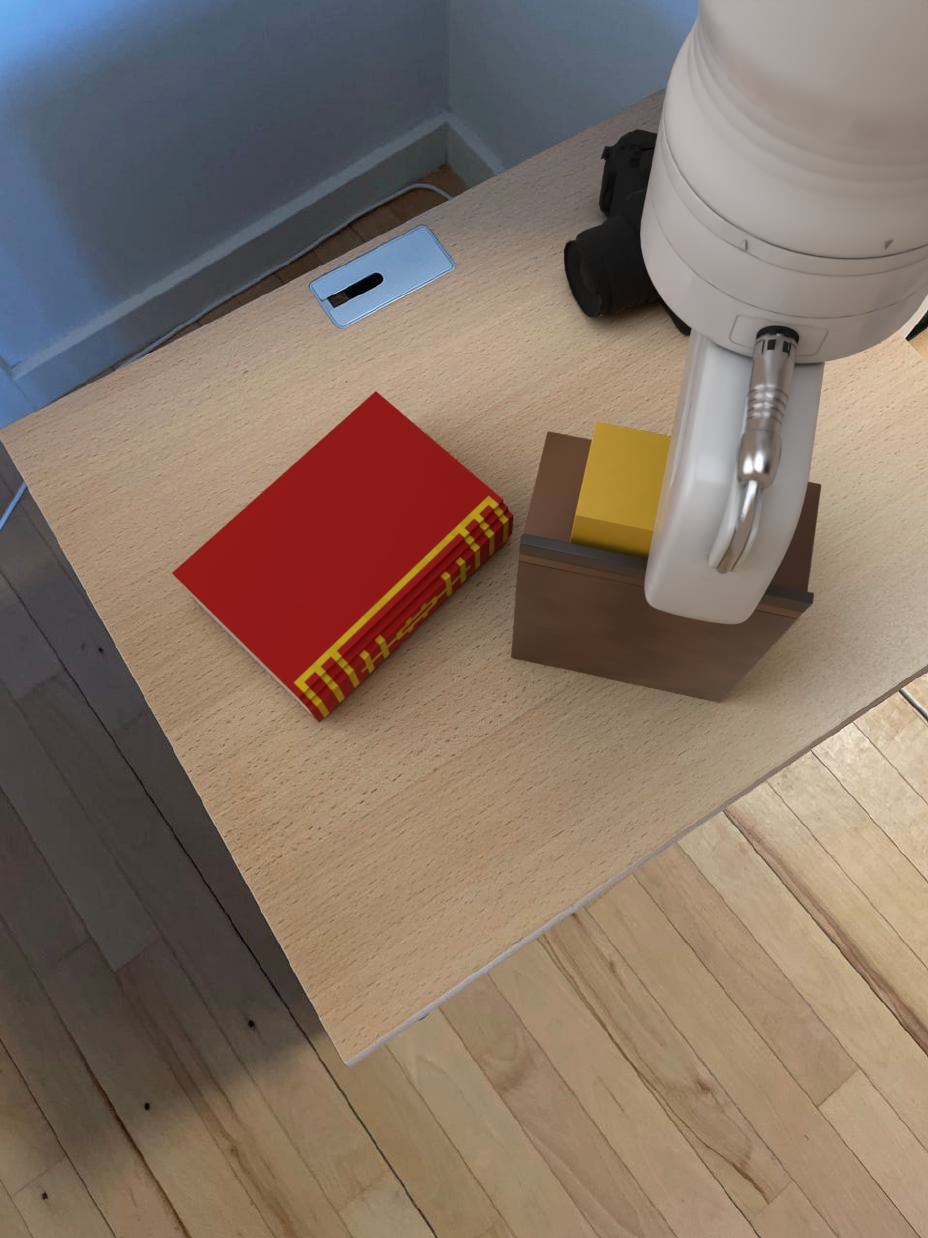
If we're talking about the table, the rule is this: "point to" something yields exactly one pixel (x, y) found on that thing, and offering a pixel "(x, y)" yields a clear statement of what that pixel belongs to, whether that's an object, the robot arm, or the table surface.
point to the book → (346, 554)
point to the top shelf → (553, 549)
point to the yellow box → (621, 490)
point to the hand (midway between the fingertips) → (706, 439)
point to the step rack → (633, 635)
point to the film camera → (617, 236)
